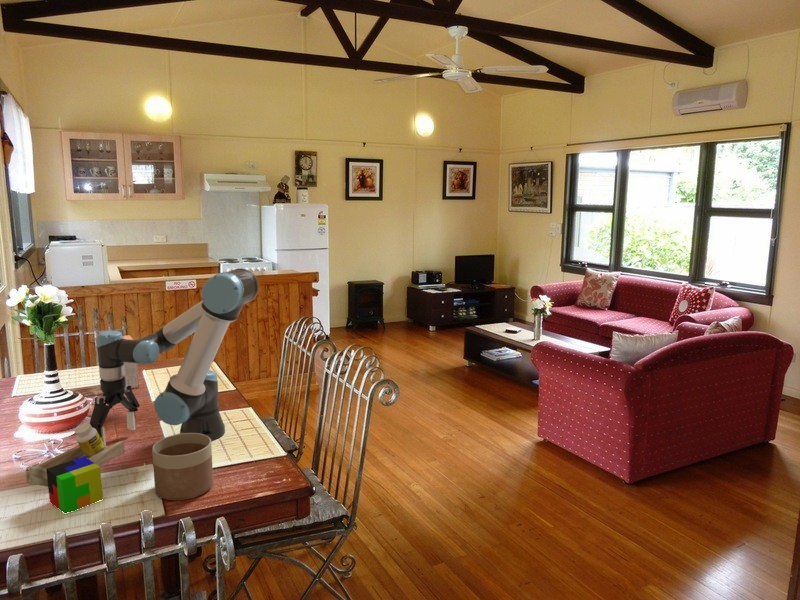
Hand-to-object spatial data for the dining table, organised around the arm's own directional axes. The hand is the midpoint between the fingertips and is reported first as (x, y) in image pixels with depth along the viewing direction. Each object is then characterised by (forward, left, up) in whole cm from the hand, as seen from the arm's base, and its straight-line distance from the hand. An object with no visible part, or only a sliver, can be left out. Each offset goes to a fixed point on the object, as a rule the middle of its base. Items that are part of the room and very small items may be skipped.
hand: (117, 437), depth 201 cm
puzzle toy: (-17, +35, -3) cm, 38 cm away
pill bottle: (-1, +10, -1) cm, 10 cm away
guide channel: (-1, +18, -2) cm, 18 cm away
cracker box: (+40, -52, -3) cm, 66 cm away
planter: (-41, +20, -3) cm, 45 cm away
